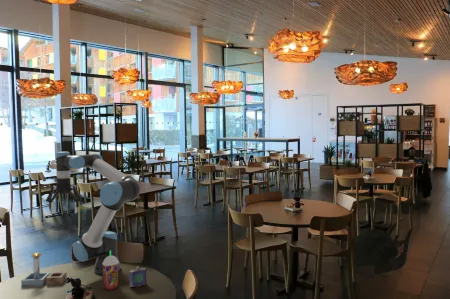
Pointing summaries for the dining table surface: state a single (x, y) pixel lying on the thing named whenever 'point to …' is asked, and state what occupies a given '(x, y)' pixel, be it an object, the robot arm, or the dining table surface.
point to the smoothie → (110, 272)
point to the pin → (36, 265)
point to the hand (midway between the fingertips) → (64, 213)
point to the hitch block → (56, 278)
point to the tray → (34, 280)
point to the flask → (137, 277)
